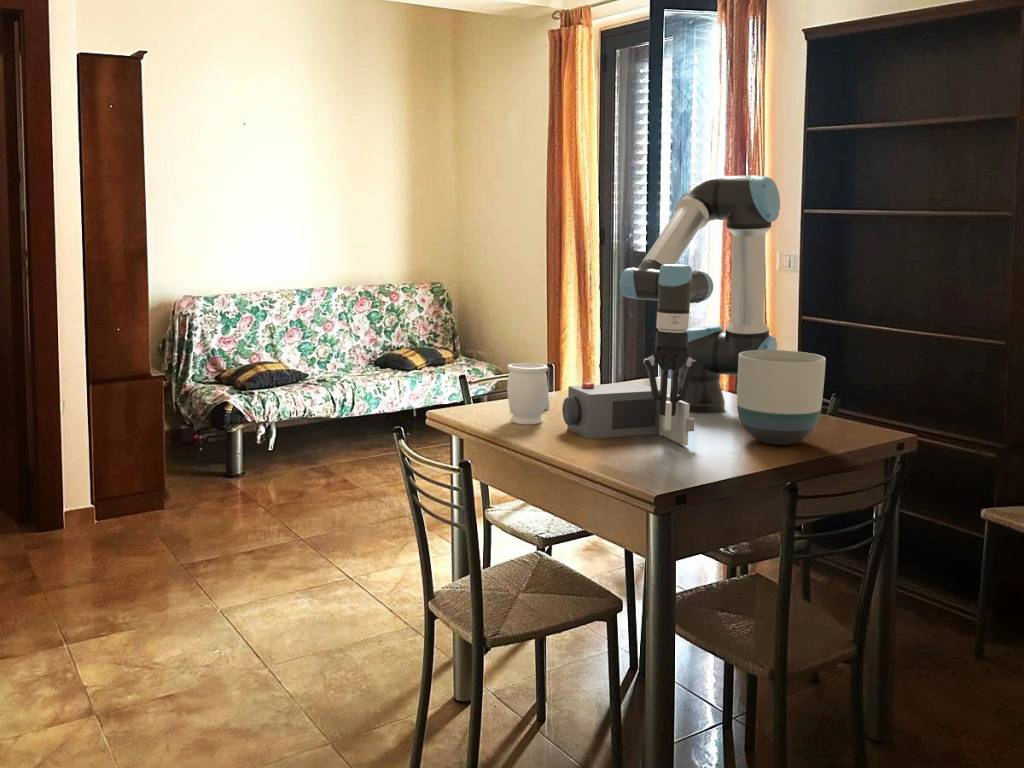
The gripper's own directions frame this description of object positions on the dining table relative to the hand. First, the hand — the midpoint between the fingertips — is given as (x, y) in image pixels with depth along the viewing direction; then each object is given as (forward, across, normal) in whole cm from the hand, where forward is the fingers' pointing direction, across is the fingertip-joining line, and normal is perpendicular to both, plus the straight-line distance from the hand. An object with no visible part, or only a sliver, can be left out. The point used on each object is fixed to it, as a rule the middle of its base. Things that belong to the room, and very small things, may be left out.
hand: (666, 428), depth 256 cm
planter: (+4, +28, +4) cm, 29 cm away
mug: (+5, -29, +43) cm, 52 cm away
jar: (+5, -32, +26) cm, 41 cm away
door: (+4, +3, +5) cm, 7 cm away
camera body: (+4, -10, +16) cm, 19 cm away
